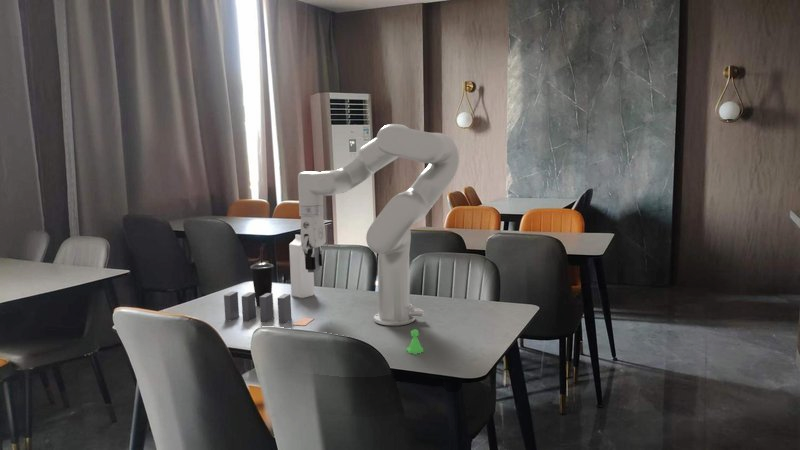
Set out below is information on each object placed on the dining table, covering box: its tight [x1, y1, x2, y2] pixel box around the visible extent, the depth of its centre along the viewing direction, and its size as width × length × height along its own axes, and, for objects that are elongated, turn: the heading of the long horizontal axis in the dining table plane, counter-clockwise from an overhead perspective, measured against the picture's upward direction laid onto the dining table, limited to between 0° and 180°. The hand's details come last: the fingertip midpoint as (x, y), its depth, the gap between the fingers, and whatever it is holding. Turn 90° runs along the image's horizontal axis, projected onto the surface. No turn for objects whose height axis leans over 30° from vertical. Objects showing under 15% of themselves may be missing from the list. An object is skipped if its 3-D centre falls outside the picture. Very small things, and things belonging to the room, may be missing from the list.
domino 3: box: [259, 292, 275, 324], centre depth 186 cm, size 2×5×8 cm, turn 166°
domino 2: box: [241, 291, 257, 323], centre depth 188 cm, size 2×5×8 cm, turn 166°
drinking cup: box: [250, 246, 274, 308], centre depth 203 cm, size 8×8×20 cm
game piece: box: [406, 328, 424, 355], centre depth 156 cm, size 4×4×6 cm
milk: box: [288, 234, 316, 299], centre depth 215 cm, size 6×6×22 cm
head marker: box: [292, 317, 314, 327], centre depth 184 cm, size 4×7×1 cm, turn 167°
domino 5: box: [308, 246, 321, 273], centre depth 191 cm, size 2×5×8 cm, turn 166°
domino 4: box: [277, 293, 292, 324], centre depth 185 cm, size 2×5×8 cm, turn 166°
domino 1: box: [223, 291, 240, 321], centre depth 189 cm, size 2×5×8 cm, turn 166°
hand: (313, 267), depth 191 cm, fingers closed on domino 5, 4 cm apart
